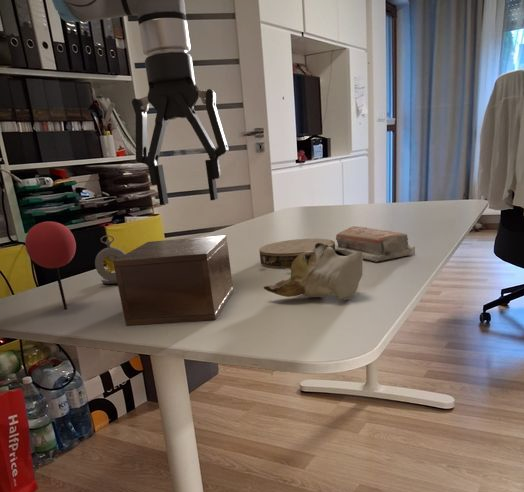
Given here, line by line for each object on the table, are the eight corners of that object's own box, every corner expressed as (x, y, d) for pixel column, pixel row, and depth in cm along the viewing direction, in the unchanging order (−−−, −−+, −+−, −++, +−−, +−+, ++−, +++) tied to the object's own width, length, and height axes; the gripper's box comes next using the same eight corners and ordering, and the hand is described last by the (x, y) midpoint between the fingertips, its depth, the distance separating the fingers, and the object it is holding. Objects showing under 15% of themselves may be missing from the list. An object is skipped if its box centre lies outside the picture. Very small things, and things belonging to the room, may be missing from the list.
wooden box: (157, 296, 93) (147, 241, 89) (233, 291, 91) (226, 235, 87) (125, 325, 78) (112, 261, 75) (215, 320, 76) (206, 253, 73)
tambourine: (339, 263, 103) (339, 248, 102) (259, 271, 104) (258, 256, 103) (331, 249, 118) (330, 236, 117) (261, 256, 119) (260, 243, 117)
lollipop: (69, 315, 87) (47, 224, 81) (33, 315, 90) (10, 226, 84) (97, 302, 93) (79, 217, 88) (63, 302, 96) (43, 219, 91)
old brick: (417, 230, 102) (375, 238, 98) (417, 254, 104) (376, 263, 100) (363, 223, 117) (325, 229, 114) (363, 244, 119) (326, 252, 115)
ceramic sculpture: (344, 247, 71) (255, 252, 80) (350, 308, 74) (263, 306, 82) (375, 234, 79) (291, 239, 88) (379, 289, 82) (297, 289, 90)
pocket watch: (124, 276, 113) (115, 229, 110) (144, 280, 107) (135, 230, 104) (89, 284, 108) (78, 236, 105) (108, 289, 102) (97, 238, 99)
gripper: (236, 50, 85) (251, 194, 93) (113, 66, 88) (138, 205, 96) (228, 41, 78) (245, 198, 86) (95, 60, 81) (124, 209, 89)
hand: (189, 201), depth 91 cm, fingers open, 8 cm apart
